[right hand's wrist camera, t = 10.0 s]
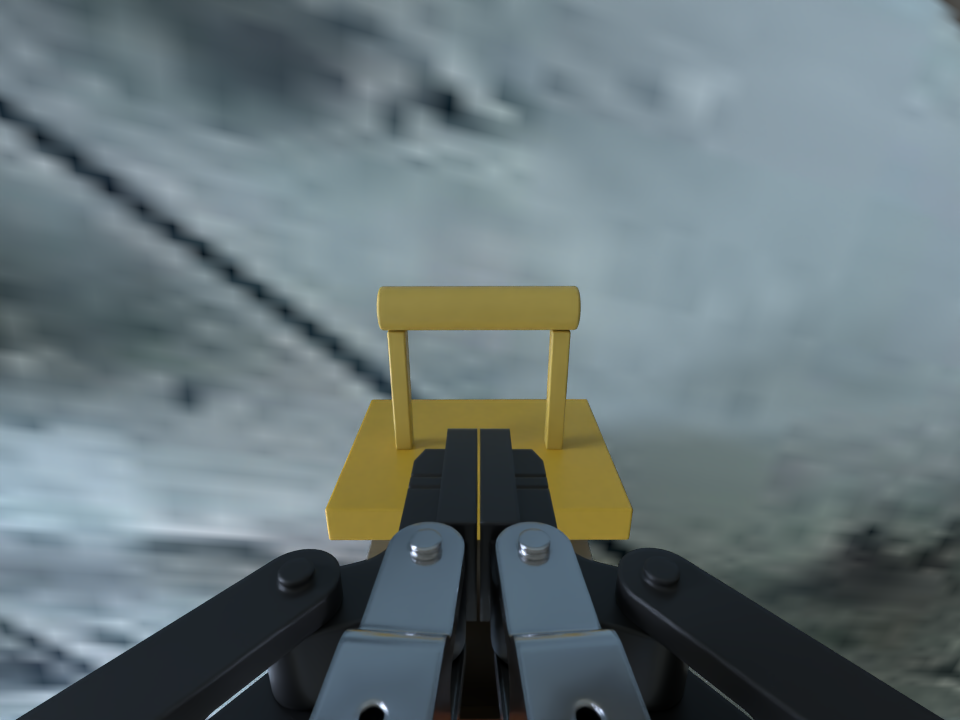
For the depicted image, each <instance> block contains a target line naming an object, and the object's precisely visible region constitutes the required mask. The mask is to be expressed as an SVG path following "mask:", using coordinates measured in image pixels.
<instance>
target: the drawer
mask: <svg viewBox="0 0 960 720" xmlns="http://www.w3.org/2000/svg"><path fill="white" fill-rule="evenodd" d="M580 311H581V301H580V293H579V290H578V288H577V287H576V286H383V287H380V289H379V291H378V296H377V318H378V323H379V326H380V328H381V329H382V330H389V331H388V333H387V337H388V350H389V363H390V377H391V390H392V400H372V401H371V403H370V405H369V408H368V410H367V412H366V415H365V417H364V420H363V422H362V424H361V427H360V429H359V431H358V434H357V436H356V438H355V441H354V443H353V445H352V448H351V450H350V453H349V455H348V457H347V460H346V462H345V464H344V467H343V469H342V471H341V474H340V476H339V478H338V481H337V483H336V486H335V488H334V490H333V493H332V495H331V497H330V500H329V502H328V504H327V507H326V509H325V513H326V520H327V527H328V534H329V539H330V540H371V543H370V547H369V551H368V554H367V558H366V560H367V559H369V558H372V557H374V556H376V555H378V554H380V553H381V552H383V551H384V550H385V549H387V546H388V544H389V542H390V540H391V538H392V537H393V536H394V535H395V534H396V533H397V532H398V531H399V526H400V522H401V517H402V513H403V508H404V504H405V499H406V495H407V490H408V488H409V481H410V477H411V472H412V468H413V463H414V460H415V459H416V458H417V457H418V456H419V455H420V454H421V453H422V452H423V451H424V450H425V449H445V446H446V438H447V430H448V428H477V474H478V503H477V621H466V664H465V673H464V682H463V691H462V700H461V709H460V718H459V719H501V718H500V709H499V700H498V691H497V682H496V673H495V664H494V649H493V646H492V643H491V625H490V621H480V429H510V435H511V444H512V449H532V450H533V451H534V452H535V453H536V454H537V455H538V456H539V457H540V458H541V459H542V460H543V462H544V467H545V471H546V477H547V481H548V486H549V490H550V495H551V500H552V504H553V509H554V514H555V519H556V523H557V528H558V529H559V530H560V531H562V532H563V533H564V534H565V535H566V536H567V537H568V538H569V540H570V542H571V544H572V546H573V549H574V552H575V553H576V554H578V555H580V556H582V557H584V558H587V559H589V560H592V561H593V559H592V555H591V551H590V548H589V544H588V540H627V539H629V535H630V528H631V521H632V513H633V509H632V506H631V504H630V501H629V499H628V497H627V494H626V492H625V489H624V487H623V485H622V482H621V480H620V477H619V475H618V473H617V470H616V468H615V465H614V463H613V461H612V458H611V456H610V454H609V451H608V449H607V446H606V444H605V442H604V439H603V437H602V434H601V432H600V430H599V427H598V425H597V422H596V420H595V418H594V415H593V413H592V411H591V408H590V406H589V403H588V401H587V400H586V399H566V392H567V377H568V363H569V348H570V334H571V333H570V330H575V329H577V327H578V325H579V321H580ZM407 330H550V344H549V362H548V381H547V399H464V400H412V399H411V382H410V365H409V348H408V331H407Z"/></svg>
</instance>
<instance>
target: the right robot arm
mask: <svg viewBox="0 0 960 720" xmlns="http://www.w3.org/2000/svg"><path fill="white" fill-rule="evenodd" d="M477 503H478V474H477V428H448V430H447V438H446V446H445V449H425V450H424V451H423V452H422V453H421V454H420V455H419V456H418V457H417V458H416V459H415V460H414V463H413V468H412V472H411V477H410V481H409V488H408V490H407V495H406V499H405V504H404V508H403V513H402V517H401V522H400V526H399V531H398V532H397V533H396V534H395V535H394V536H393V537H392V538H391V540H390V542H389V544H388V546H387V549H385V550H384V551H383V552H381V553H380V554H378V555H376V556H374V557H372V558H369V559H367V560H364V561H360V562H356V563H352V564H348V565H344V566H339V563H338V561H337V560H336V558H335V557H334V556H332V555H331V554H329V553H327V552H325V551H322V550H317V549H303V550H297V551H293V552H290V553H287V554H284V555H282V556H280V557H278V558H276V559H274V560H273V561H271V562H269V563H268V564H266V565H265V566H263V567H261V568H260V569H258V570H256V571H255V572H253V573H252V574H250V575H248V576H247V577H245V578H244V579H242V580H240V581H239V582H237V583H235V584H234V585H232V586H231V587H229V588H227V589H226V590H224V591H223V592H221V593H219V594H218V595H216V596H215V597H213V598H211V599H210V600H208V601H206V602H205V603H203V604H202V605H200V606H198V607H197V608H195V609H194V610H192V611H190V612H189V613H187V614H186V615H184V616H182V617H181V618H179V619H177V620H176V621H174V622H173V623H171V624H169V625H168V626H166V627H165V628H163V629H161V630H160V631H158V632H156V633H155V634H153V635H152V636H150V637H148V638H147V639H145V640H144V641H142V642H140V643H139V644H137V645H136V646H134V647H132V648H131V649H129V650H127V651H126V652H124V653H123V654H121V655H119V656H118V657H116V658H115V659H113V660H111V661H110V662H108V663H106V664H105V665H103V666H102V667H100V668H98V669H97V670H95V671H94V672H92V673H90V674H89V675H87V676H86V677H84V678H82V679H81V680H79V681H77V682H76V683H74V684H73V685H71V686H69V687H68V688H66V689H65V690H63V691H61V692H60V693H58V694H57V695H55V696H53V697H52V698H50V699H48V700H47V701H45V702H44V703H42V704H40V705H39V706H37V707H36V708H34V709H32V710H31V711H29V712H27V713H26V714H24V715H23V716H21V717H19V718H18V719H16V720H205V719H206V718H207V717H208V716H209V715H210V714H211V713H212V712H213V711H214V710H216V709H217V708H218V707H219V706H221V705H222V704H223V703H225V702H226V701H227V700H228V699H230V698H231V697H232V696H234V695H235V694H236V693H237V692H239V691H240V690H241V689H242V688H244V687H245V686H246V685H248V684H249V683H250V682H251V681H253V680H254V679H255V678H256V677H258V676H259V675H260V674H262V673H263V672H264V671H265V670H267V669H268V673H267V674H265V675H264V676H263V677H262V678H260V679H259V680H258V681H256V682H255V683H254V684H253V685H251V686H250V687H249V688H248V689H246V690H245V691H244V692H243V693H241V694H240V695H239V696H237V697H236V698H235V699H234V700H232V701H231V702H230V703H229V704H227V705H226V706H225V707H224V708H222V709H221V710H220V711H218V712H217V713H216V714H215V715H213V716H212V717H211V718H210V719H208V720H459V718H460V709H461V700H462V691H463V682H464V673H465V664H466V621H477ZM480 621H490V625H491V643H492V646H493V649H494V664H495V673H496V682H497V691H498V700H499V709H500V718H501V720H752V719H750V718H749V717H748V716H747V715H745V714H744V713H743V712H742V711H740V710H739V709H738V708H736V707H735V706H734V705H733V704H731V703H730V702H729V701H728V700H726V699H725V698H724V697H723V696H721V695H720V694H719V693H717V692H716V691H715V690H714V689H712V688H711V687H710V686H709V685H707V684H706V683H705V682H704V681H702V680H701V679H700V678H698V677H697V676H696V675H695V674H693V673H692V672H691V671H690V670H688V669H689V667H691V668H692V669H693V670H695V671H696V672H697V673H698V674H700V675H701V676H702V677H703V678H705V679H706V680H707V681H709V682H710V683H711V684H712V685H714V686H715V687H716V688H718V689H719V690H720V691H721V692H723V693H724V694H725V695H726V696H728V697H729V698H730V699H732V700H733V701H734V702H735V703H737V704H738V705H739V706H741V707H742V708H743V709H744V710H745V711H747V712H748V713H749V714H750V715H751V716H752V718H753V719H754V720H944V719H942V718H941V717H939V716H937V715H936V714H934V713H932V712H931V711H929V710H928V709H926V708H924V707H923V706H921V705H920V704H918V703H916V702H915V701H913V700H912V699H910V698H908V697H907V696H905V695H903V694H902V693H900V692H899V691H897V690H895V689H894V688H892V687H891V686H889V685H887V684H886V683H884V682H883V681H881V680H879V679H878V678H876V677H874V676H873V675H871V674H870V673H868V672H866V671H865V670H863V669H862V668H860V667H858V666H857V665H855V664H853V663H852V662H850V661H849V660H847V659H845V658H844V657H842V656H841V655H839V654H837V653H836V652H834V651H833V650H831V649H829V648H828V647H826V646H824V645H823V644H821V643H820V642H818V641H816V640H815V639H813V638H812V637H810V636H808V635H807V634H805V633H804V632H802V631H800V630H799V629H797V628H795V627H794V626H792V625H791V624H789V623H787V622H786V621H784V620H783V619H781V618H779V617H778V616H776V615H774V614H773V613H771V612H770V611H768V610H766V609H765V608H763V607H762V606H760V605H758V604H757V603H755V602H754V601H752V600H750V599H749V598H747V597H745V596H744V595H742V594H741V593H739V592H737V591H736V590H734V589H733V588H731V587H729V586H728V585H726V584H724V583H723V582H721V581H720V580H718V579H716V578H715V577H713V576H712V575H710V574H708V573H707V572H705V571H704V570H702V569H700V568H699V567H697V566H695V565H694V564H692V563H691V562H689V561H687V560H686V559H684V558H682V557H681V556H679V555H677V554H674V553H672V552H669V551H666V550H662V549H657V548H641V549H636V550H633V551H630V552H629V553H627V554H626V555H624V556H623V557H622V559H621V560H620V562H619V565H618V567H616V566H612V565H608V564H603V563H599V562H596V561H592V560H589V559H587V558H584V557H582V556H580V555H578V554H576V553H575V552H574V549H573V546H572V544H571V542H570V540H569V538H568V537H567V536H566V535H565V534H564V533H563V532H562V531H560V530H559V529H558V528H557V523H556V519H555V514H554V509H553V504H552V500H551V495H550V490H549V486H548V481H547V477H546V471H545V467H544V462H543V460H542V459H541V458H540V457H539V456H538V455H537V454H536V453H535V452H534V451H533V450H532V449H512V444H511V435H510V429H480Z"/></svg>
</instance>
